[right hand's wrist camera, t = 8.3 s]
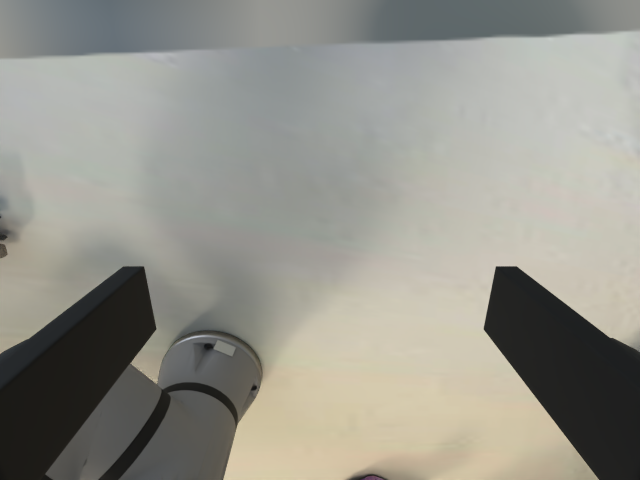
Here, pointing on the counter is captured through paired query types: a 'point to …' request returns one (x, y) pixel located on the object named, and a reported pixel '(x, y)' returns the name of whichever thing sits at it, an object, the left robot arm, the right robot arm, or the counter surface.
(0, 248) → the figurine character
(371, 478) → the figurine
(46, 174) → the counter surface
